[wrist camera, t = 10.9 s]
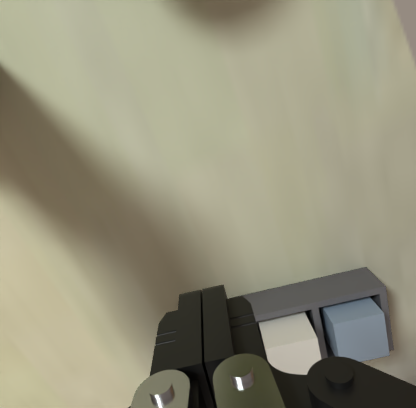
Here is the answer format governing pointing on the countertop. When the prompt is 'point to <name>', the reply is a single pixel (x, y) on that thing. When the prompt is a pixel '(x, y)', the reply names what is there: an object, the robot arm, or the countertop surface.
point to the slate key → (356, 329)
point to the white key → (290, 343)
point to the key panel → (320, 300)
